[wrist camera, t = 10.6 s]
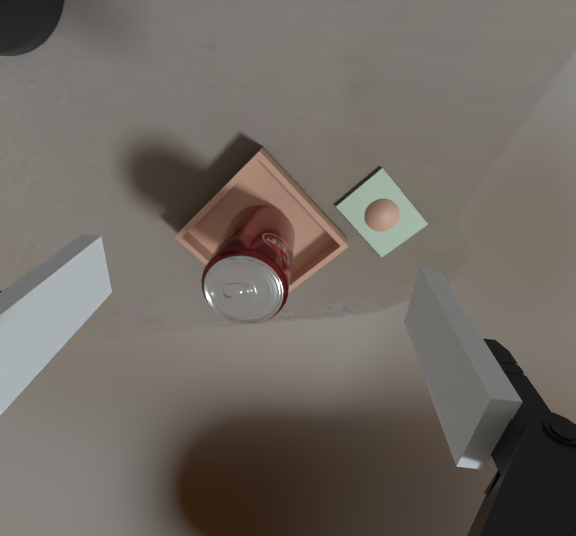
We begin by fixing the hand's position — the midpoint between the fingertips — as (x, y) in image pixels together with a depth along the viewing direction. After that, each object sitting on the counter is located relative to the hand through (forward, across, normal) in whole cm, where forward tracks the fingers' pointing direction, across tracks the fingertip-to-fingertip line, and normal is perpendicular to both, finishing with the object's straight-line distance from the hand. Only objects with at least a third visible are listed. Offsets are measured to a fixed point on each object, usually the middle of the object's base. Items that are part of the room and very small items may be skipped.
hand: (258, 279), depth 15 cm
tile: (+24, +10, -5) cm, 27 cm away
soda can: (+24, -2, -8) cm, 25 cm away
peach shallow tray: (+24, -2, -8) cm, 26 cm away
